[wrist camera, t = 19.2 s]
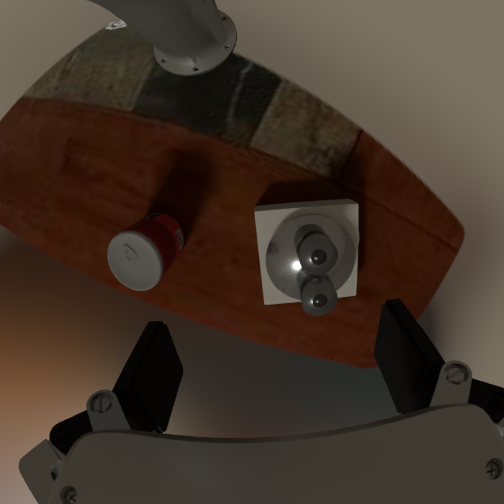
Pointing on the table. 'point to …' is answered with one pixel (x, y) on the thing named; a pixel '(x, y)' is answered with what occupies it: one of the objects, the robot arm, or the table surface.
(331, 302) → the spacer
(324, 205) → the scale
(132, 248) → the canned food
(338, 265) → the pan
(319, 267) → the spacer
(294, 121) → the table surface
